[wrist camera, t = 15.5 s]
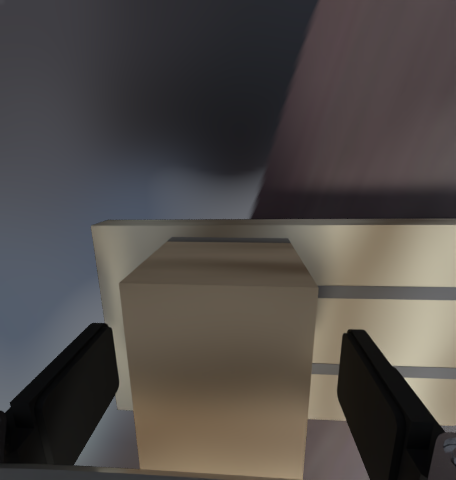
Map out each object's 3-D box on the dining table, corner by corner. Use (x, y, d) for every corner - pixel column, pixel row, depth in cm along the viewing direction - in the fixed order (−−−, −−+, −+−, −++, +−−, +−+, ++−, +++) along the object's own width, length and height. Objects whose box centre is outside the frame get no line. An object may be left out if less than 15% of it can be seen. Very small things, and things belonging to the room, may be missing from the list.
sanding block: (171, 237, 12) (118, 283, 7) (287, 238, 11) (318, 287, 6) (181, 405, 14) (147, 530, 9) (279, 410, 14) (297, 543, 9)
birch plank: (642, 217, 12) (700, 224, 10) (573, 406, 14) (611, 433, 13) (108, 219, 13) (90, 225, 12) (129, 387, 16) (117, 409, 14)
